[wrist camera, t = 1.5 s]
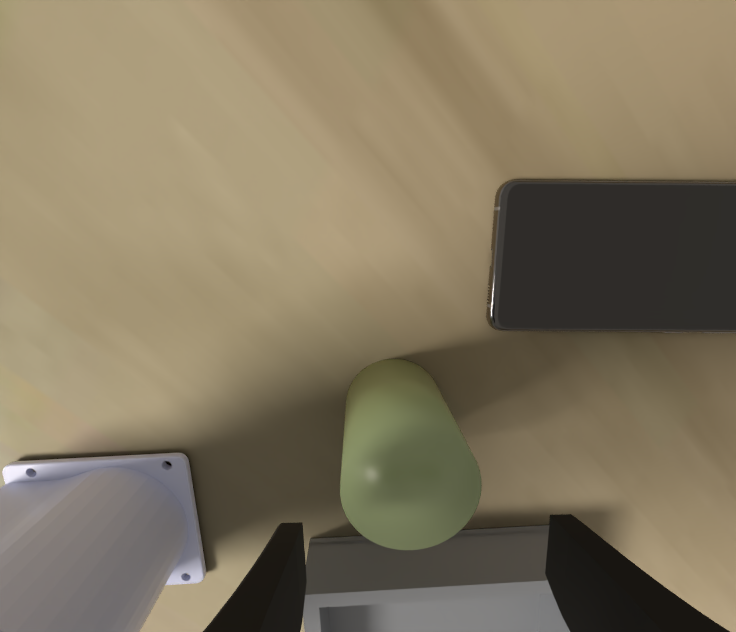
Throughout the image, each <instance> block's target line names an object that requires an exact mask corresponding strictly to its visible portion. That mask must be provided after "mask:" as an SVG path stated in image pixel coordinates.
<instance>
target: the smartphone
mask: <svg viewBox="0 0 736 632" xmlns="http://www.w3.org/2000/svg"><path fill="white" fill-rule="evenodd" d="M491 250H492V251H493V253H492V265H491V266H490V271H489V284H488V285H489V286H490V287H488V288H489V290H488V291H489V293H488V294H489V296H488V298H489V299H487V300H488V301H489V302H487V312H486V318H487V322H488V324H489V325H490V326H491V327H492V328H494V329H496V330H499V331H595V332H664V333H683V332H701V333H736V182H682V181H574V180H510V181H507V182H505V183H503V184H502V185H501V186H500V187H499V188H498V190H497V192H496V196H495V205H494V218H493V231H492V244H491Z"/></svg>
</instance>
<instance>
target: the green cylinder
mask: <svg viewBox="0 0 736 632" xmlns="http://www.w3.org/2000/svg"><path fill="white" fill-rule="evenodd" d="M480 495H481V475H480V470H479V467H478V465H477V462H476V460H475V458H474V456H473V454H472V452H471V450H470V448H469V446H468V445H467V443H466V441H465V439H464V437H463V435H462V433H461V431H460V429H459V427H458V425H457V423H456V421H455V420H454V418H453V416H452V414H451V412H450V410H449V408H448V406H447V404H446V402H445V400H444V398H443V396H442V395H441V393H440V391H439V389H438V387H437V385H436V383H435V381H434V379H433V378H432V377H431V375H430V374H429V373H428V372H427V371H426V370H425V369H423V368H422V367H420V366H419V365H417V364H415V363H413V362H410V361H406V360H401V359H387V360H382V361H378V362H376V363H373V364H371V365H369V366H368V367H366V368H365V369H363V370H362V371H361V372H360V373H359V374H358V375H357V376H356V377H355V379H354V380H353V382H352V383H351V385H350V387H349V390H348V393H347V398H346V409H345V423H344V437H343V451H342V465H341V479H340V498H341V503H342V507H343V510H344V512H345V514H346V516H347V518H348V520H349V521H350V523H351V524H352V525H353V526H354V528H355V529H356V530H357V531H358V532H359V533H361V534H362V535H363V536H364V537H366V538H367V539H369V540H370V541H372V542H374V543H376V544H378V545H381V546H384V547H387V548H392V549H397V550H418V549H424V548H428V547H432V546H435V545H438V544H440V543H442V542H444V541H446V540H448V539H449V538H451V537H453V536H454V535H455V534H456V533H458V532H459V531H460V530H461V529H462V528H463V527H464V526H465V525H466V524H467V523H468V521H469V520H470V519H471V517H472V516H473V514H474V512H475V510H476V508H477V505H478V503H479V499H480Z"/></svg>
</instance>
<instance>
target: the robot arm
mask: <svg viewBox="0 0 736 632" xmlns="http://www.w3.org/2000/svg"><path fill="white" fill-rule="evenodd" d="M165 461H169V462H170V463H171V464H172V465H171V466H170V465H168V464H166V462H165ZM33 469H34V470H35V471H36V472H35V471H33ZM3 477H4V480H5V485H4V486H2V487H1V488H0V632H140V630H141V628H142V626H143V625H144V623H145V621H146V619H147V617H148V615H149V614H150V612H151V610H152V608H153V606H154V605H155V603H156V601H157V599H158V597H159V595H160V594H161V592H162V590H163V588H164V586H165V585H174V584H191V583H199V582H201V581H203V579H204V577H205V575H206V566H205V560H204V553H203V547H202V541H201V534H200V528H199V522H198V515H197V509H196V503H195V496H194V490H193V484H192V478H191V471H190V465H189V460H188V457H187V456H186V455H185V454H183V453H162V454H143V455H125V456H106V457H87V458H69V459H50V460H31V461H15V462H11V463H10V464H8V465H7V466H5V467H4V468H3ZM186 573H188V574H189V575H187V574H186ZM545 575H546V578H547V580H548V583H549V585H550V588H551V590H552V593H553V596H554V598H555V600H556V603H557V605H558V608H559V610H560V612H561V615H562V617H563V619H564V621H565V623H566V625H567V627H568V628H569V630H570V632H730V631H728V630H726V629H725V628H723V627H722V626H720V625H719V624H717V623H715V622H714V621H712V620H711V619H709V618H708V617H707V616H705V615H704V614H702V613H701V612H699V611H698V610H696V609H695V608H693V607H692V606H691V605H689V604H688V603H686V602H685V601H684V600H682V599H681V598H679V597H678V596H677V595H675V594H674V593H672V592H671V591H669V590H668V589H667V588H665V587H664V586H663V585H661V584H660V583H659V582H657V581H656V580H655V579H653V578H652V577H651V576H649V575H648V574H647V573H645V572H644V571H643V570H641V569H640V568H639V567H637V566H636V565H635V564H634V563H632V562H631V561H630V560H628V559H627V558H626V557H625V556H623V555H622V554H621V553H620V552H618V551H617V550H616V549H615V548H613V547H612V546H611V545H609V544H608V543H607V542H606V541H604V540H603V539H602V538H601V537H599V536H598V535H597V534H596V533H594V532H593V531H592V530H591V529H589V528H588V527H587V526H586V525H584V524H583V523H582V522H581V521H579V520H578V519H577V518H575V517H574V516H573V515H571V514H567V515H550V522H549V534H548V546H547V557H546V569H545ZM306 583H307V578H306V565H305V551H304V538H303V525H302V523H281V524H280V525H279V526H278V527H277V529H276V531H275V532H274V534H273V536H272V537H271V539H270V540H269V542H268V544H267V545H266V547H265V548H264V550H263V552H262V553H261V555H260V556H259V558H258V559H257V561H256V562H255V564H254V565H253V567H252V568H251V569H250V571H249V572H248V574H247V575H246V576H245V578H244V579H243V581H242V582H241V584H240V585H239V586H238V588H237V589H236V591H235V592H234V593H233V595H232V596H231V597H230V598H229V600H228V601H227V602H226V604H225V605H224V606H223V607H222V609H221V610H220V611H219V613H218V614H217V615H216V616H215V618H214V619H213V620H212V621H211V623H210V624H209V625H208V626H207V628H206V629H205V630H204V631H203V632H300V630H301V625H302V618H303V610H304V601H305V592H306Z"/></svg>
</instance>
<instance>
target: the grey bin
mask: <svg viewBox="0 0 736 632" xmlns="http://www.w3.org/2000/svg"><path fill="white" fill-rule="evenodd" d="M548 534H549V525H541V526H524V527H506V528H489V529H471V530H460V531H459V532H458V533H456V534H455V535H454V536H453V537H451V538H449V539H448V540H446V541H444V542H442V543H440V544H438V545H435V546H432V547H428V548H424V549H418V550H397V549H392V548H387V547H384V546H381V545H378V544H376V543H374V542H372V541H370V540H369V539H367V538H366V537H364V536H350V537H332V538H315V539H310V543H309V549H308V555H307V562H306V578H307V583H306V592H305V601H304V610H303V618H304V628H305V632H570V630H569V628H568V627H567V625H566V623H565V621H564V619H563V617H562V615H561V612H560V610H559V608H558V605H557V603H556V600H555V598H554V596H553V593H552V590H551V588H550V585H549V583H548V580H547V578H546V575H545V569H546V557H547V546H548Z"/></svg>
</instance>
